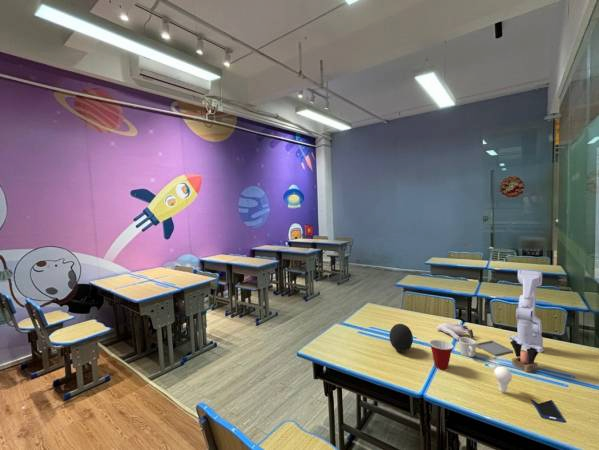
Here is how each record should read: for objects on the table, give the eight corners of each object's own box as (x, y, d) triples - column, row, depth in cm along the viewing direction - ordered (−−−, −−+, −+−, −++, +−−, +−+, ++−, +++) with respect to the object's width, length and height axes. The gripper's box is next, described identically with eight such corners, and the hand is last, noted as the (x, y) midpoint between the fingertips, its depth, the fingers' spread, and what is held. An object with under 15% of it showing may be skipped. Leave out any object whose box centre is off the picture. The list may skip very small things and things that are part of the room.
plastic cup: (453, 363, 142) (453, 340, 141) (453, 375, 133) (453, 350, 132) (430, 358, 147) (429, 336, 146) (428, 369, 138) (428, 346, 137)
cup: (481, 362, 142) (481, 347, 141) (464, 361, 143) (464, 346, 143) (472, 351, 152) (472, 337, 152) (456, 350, 154) (456, 336, 153)
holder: (522, 363, 140) (522, 356, 140) (537, 370, 133) (537, 363, 133) (511, 365, 138) (511, 358, 138) (526, 373, 131) (526, 366, 131)
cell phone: (541, 418, 105) (541, 417, 105) (528, 395, 117) (528, 393, 117) (566, 424, 102) (566, 422, 102) (550, 399, 114) (550, 397, 114)
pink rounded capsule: (523, 364, 138) (523, 349, 137) (530, 368, 134) (530, 353, 134) (518, 365, 137) (518, 351, 136) (525, 369, 134) (525, 354, 133)
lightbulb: (512, 399, 115) (512, 373, 114) (494, 394, 118) (494, 369, 118) (510, 390, 120) (511, 365, 120) (493, 386, 124) (493, 362, 123)
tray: (491, 342, 161) (491, 340, 161) (512, 353, 149) (512, 350, 149) (475, 346, 158) (475, 343, 158) (495, 357, 146) (495, 354, 146)
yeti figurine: (477, 336, 173) (443, 326, 188) (478, 325, 173) (444, 317, 188) (467, 345, 160) (431, 334, 174) (467, 333, 160) (432, 323, 174)
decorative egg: (399, 342, 165) (398, 318, 164) (417, 351, 155) (417, 325, 154) (385, 349, 159) (384, 323, 158) (403, 358, 148) (403, 331, 147)
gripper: (503, 327, 140) (503, 353, 141) (534, 340, 126) (534, 369, 127) (514, 325, 142) (514, 351, 143) (546, 337, 128) (545, 366, 129)
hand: (524, 359), depth 135 cm, fingers open, 5 cm apart
